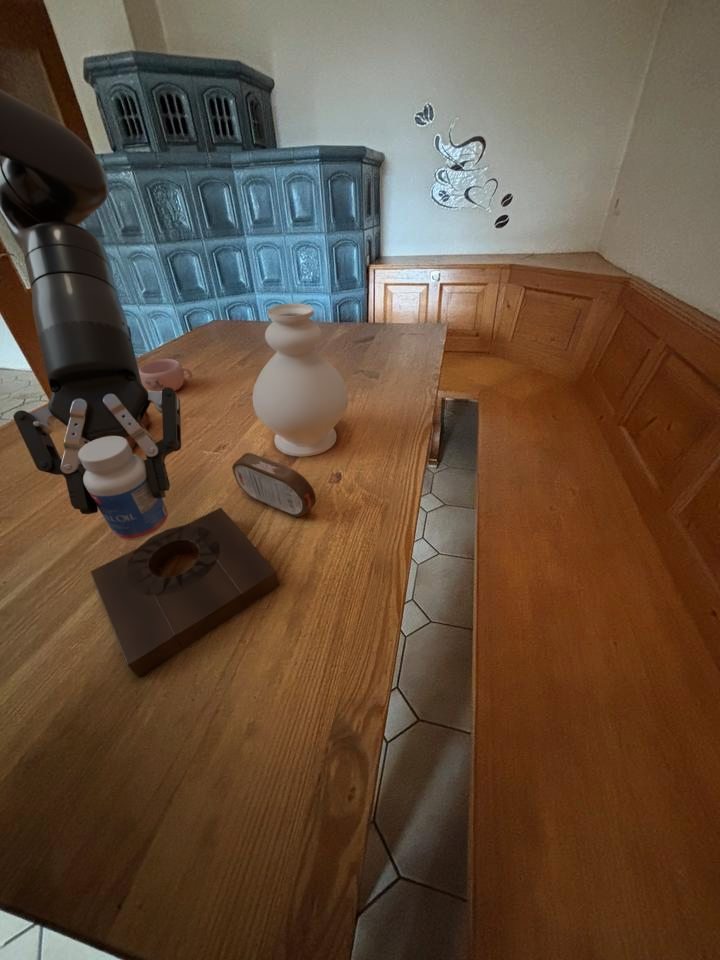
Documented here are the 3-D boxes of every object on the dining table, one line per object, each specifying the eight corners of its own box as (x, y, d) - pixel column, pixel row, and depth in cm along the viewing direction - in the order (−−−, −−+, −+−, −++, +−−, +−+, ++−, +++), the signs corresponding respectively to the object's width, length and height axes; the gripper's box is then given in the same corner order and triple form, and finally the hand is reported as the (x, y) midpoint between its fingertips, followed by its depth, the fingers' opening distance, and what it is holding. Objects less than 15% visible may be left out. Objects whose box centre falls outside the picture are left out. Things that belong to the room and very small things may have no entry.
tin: (318, 514, 61) (314, 473, 56) (307, 527, 59) (301, 485, 54) (248, 484, 67) (238, 444, 62) (235, 494, 65) (224, 454, 60)
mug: (140, 399, 92) (131, 376, 89) (151, 381, 100) (143, 359, 96) (192, 395, 94) (185, 372, 90) (199, 378, 101) (192, 356, 98)
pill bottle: (101, 536, 39) (51, 460, 33) (137, 501, 43) (98, 427, 37) (148, 546, 38) (105, 469, 32) (180, 509, 42) (147, 435, 36)
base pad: (138, 678, 42) (127, 665, 40) (98, 581, 52) (88, 567, 50) (279, 585, 51) (276, 571, 49) (222, 518, 61) (218, 504, 59)
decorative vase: (366, 432, 80) (365, 304, 64) (311, 476, 69) (294, 335, 53) (301, 409, 88) (287, 290, 72) (242, 445, 77) (210, 314, 61)
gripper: (-30, 328, 32) (12, 524, 31) (155, 309, 36) (198, 482, 35) (24, 365, 39) (59, 525, 38) (173, 345, 43) (209, 490, 42)
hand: (125, 504), depth 37 cm, fingers closed on pill bottle, 5 cm apart
